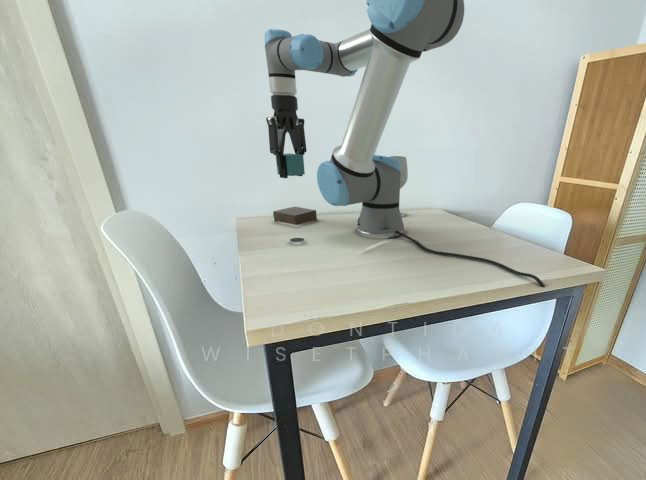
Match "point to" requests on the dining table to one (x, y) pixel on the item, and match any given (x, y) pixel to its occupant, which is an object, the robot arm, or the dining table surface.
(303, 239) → the cap
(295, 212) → the block
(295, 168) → the block
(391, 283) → the dining table surface
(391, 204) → the robot arm
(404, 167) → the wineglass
